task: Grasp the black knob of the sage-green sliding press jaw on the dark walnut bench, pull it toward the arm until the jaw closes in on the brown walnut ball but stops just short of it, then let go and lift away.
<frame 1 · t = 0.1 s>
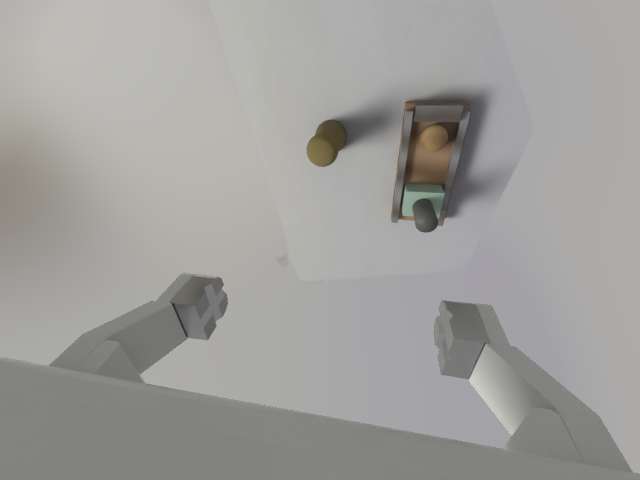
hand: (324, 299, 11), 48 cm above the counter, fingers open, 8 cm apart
press jaw: (423, 207, 51), point 7 cm above the counter, slide at 0.0 cm
walnut: (433, 138, 47), point 4 cm above the counter, touching nut bench
cork: (331, 136, 54), on the counter
nut bench: (424, 165, 54), on the counter
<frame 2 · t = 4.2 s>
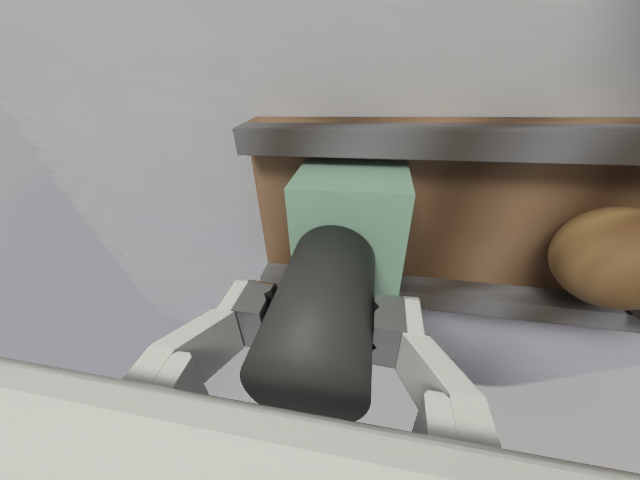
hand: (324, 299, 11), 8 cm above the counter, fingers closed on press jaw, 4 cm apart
press jaw: (342, 275, 12), point 7 cm above the counter, slide at 0.0 cm, touching gripper
walnut: (613, 257, 12), point 4 cm above the counter, touching nut bench
nut bench: (450, 211, 16), on the counter
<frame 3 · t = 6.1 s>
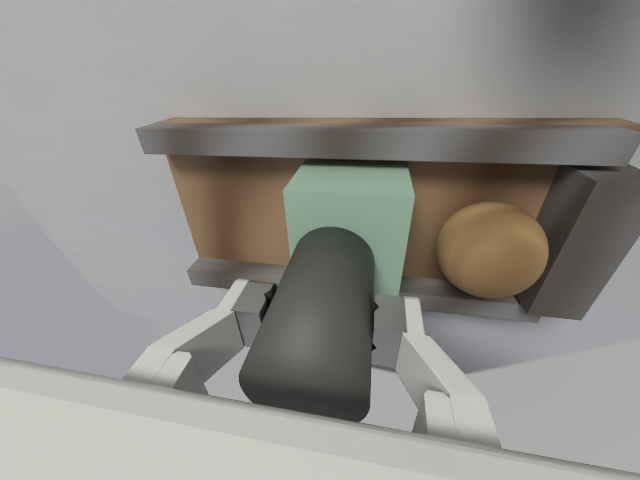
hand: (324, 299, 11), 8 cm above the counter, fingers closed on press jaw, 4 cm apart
press jaw: (342, 277, 12), point 7 cm above the counter, slide at 5.0 cm, touching gripper
walnut: (487, 249, 13), point 4 cm above the counter, touching nut bench
nut bench: (362, 207, 17), on the counter
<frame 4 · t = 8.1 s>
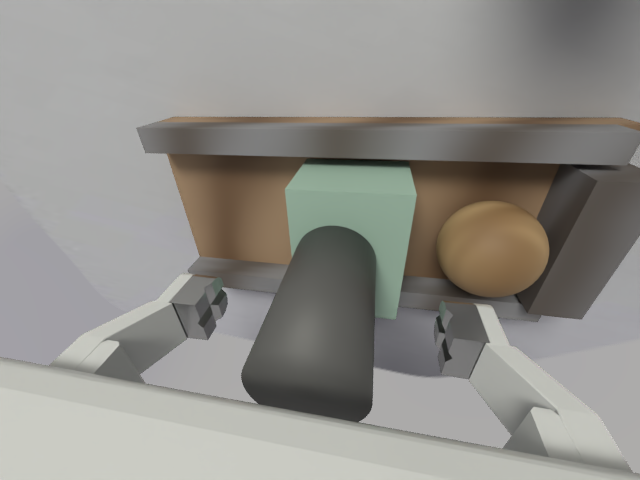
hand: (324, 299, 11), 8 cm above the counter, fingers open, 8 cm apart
press jaw: (343, 276, 12), point 7 cm above the counter, slide at 5.1 cm
walnut: (487, 248, 13), point 4 cm above the counter, touching nut bench
nut bench: (363, 206, 17), on the counter
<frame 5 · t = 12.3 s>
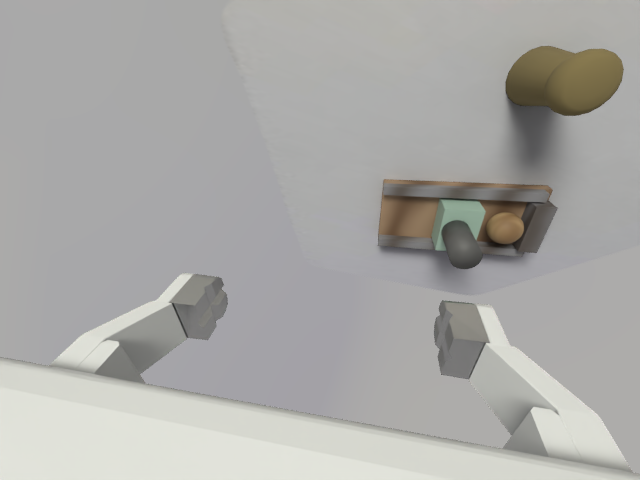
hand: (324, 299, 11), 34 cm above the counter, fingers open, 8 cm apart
press jaw: (460, 235, 38), point 7 cm above the counter, slide at 5.1 cm
walnut: (504, 228, 39), point 4 cm above the counter, touching nut bench
cork: (534, 77, 33), on the counter
nut bench: (453, 213, 43), on the counter
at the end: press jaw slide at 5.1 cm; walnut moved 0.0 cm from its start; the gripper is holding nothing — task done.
